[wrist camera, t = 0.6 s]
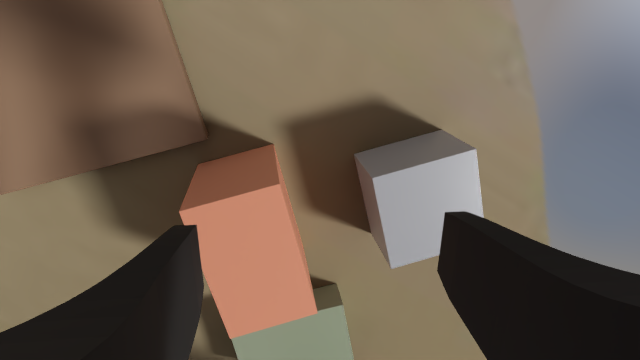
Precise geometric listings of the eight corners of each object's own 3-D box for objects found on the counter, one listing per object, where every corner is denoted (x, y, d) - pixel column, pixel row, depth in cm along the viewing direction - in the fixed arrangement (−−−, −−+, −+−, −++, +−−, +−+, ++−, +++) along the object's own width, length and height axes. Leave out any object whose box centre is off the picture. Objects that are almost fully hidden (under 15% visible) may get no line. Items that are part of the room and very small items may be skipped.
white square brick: (370, 232, 25) (391, 268, 21) (353, 153, 23) (372, 178, 19) (451, 208, 25) (486, 241, 21) (440, 129, 23) (476, 148, 19)
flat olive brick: (247, 356, 27) (246, 386, 25) (231, 305, 25) (229, 332, 23) (345, 332, 27) (353, 359, 25) (335, 280, 26) (343, 304, 24)
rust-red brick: (235, 266, 24) (230, 338, 19) (198, 163, 22) (179, 211, 16) (303, 247, 24) (317, 313, 19) (273, 143, 22) (279, 183, 16)
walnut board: (9, 188, 21) (0, 194, 20) (-99, -6, 18) (-115, -8, 17) (208, 135, 21) (206, 139, 21) (139, -64, 18) (134, -68, 17)
